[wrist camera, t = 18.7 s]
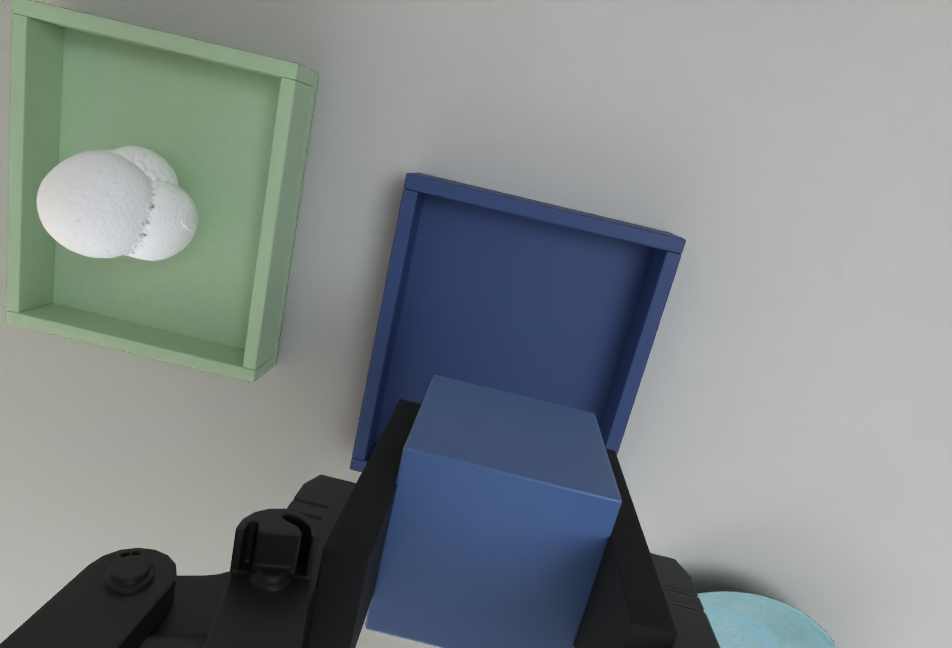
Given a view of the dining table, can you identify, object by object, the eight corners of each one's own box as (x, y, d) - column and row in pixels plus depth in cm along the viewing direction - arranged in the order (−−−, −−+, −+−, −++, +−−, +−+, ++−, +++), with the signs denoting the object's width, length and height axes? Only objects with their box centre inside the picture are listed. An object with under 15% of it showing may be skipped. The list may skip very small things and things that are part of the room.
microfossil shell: (108, 138, 26) (2, 131, 21) (228, 157, 26) (153, 155, 20) (109, 241, 27) (9, 259, 22) (224, 260, 27) (152, 283, 22)
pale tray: (60, 12, 25) (11, -5, 23) (319, 73, 25) (298, 63, 23) (48, 309, 29) (4, 322, 26) (276, 364, 28) (253, 383, 26)
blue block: (434, 373, 16) (403, 446, 12) (595, 412, 16) (623, 500, 12) (402, 515, 17) (363, 629, 13) (552, 552, 17) (563, 679, 13)
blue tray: (416, 172, 26) (406, 172, 23) (671, 232, 26) (686, 239, 23) (363, 444, 29) (349, 469, 27) (587, 499, 29) (593, 529, 27)
